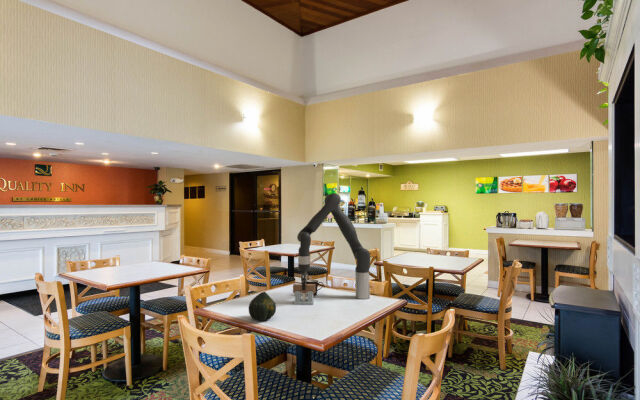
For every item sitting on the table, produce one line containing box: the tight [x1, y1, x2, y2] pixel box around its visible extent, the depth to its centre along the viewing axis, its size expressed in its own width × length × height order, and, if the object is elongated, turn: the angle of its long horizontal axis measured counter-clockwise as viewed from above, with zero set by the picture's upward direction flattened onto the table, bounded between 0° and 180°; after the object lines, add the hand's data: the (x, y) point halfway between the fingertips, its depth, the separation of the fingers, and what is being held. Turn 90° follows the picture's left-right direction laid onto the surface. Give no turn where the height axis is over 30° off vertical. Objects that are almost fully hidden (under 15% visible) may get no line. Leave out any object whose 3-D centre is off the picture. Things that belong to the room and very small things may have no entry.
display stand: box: [293, 291, 315, 306], centre depth 228 cm, size 12×10×8 cm
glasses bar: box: [292, 283, 315, 294], centre depth 228 cm, size 14×3×5 cm, turn 87°
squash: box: [248, 291, 277, 322], centre depth 196 cm, size 14×15×15 cm
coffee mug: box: [306, 279, 324, 297], centre depth 248 cm, size 12×9×10 cm
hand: (304, 289), depth 228 cm, fingers open, 6 cm apart
